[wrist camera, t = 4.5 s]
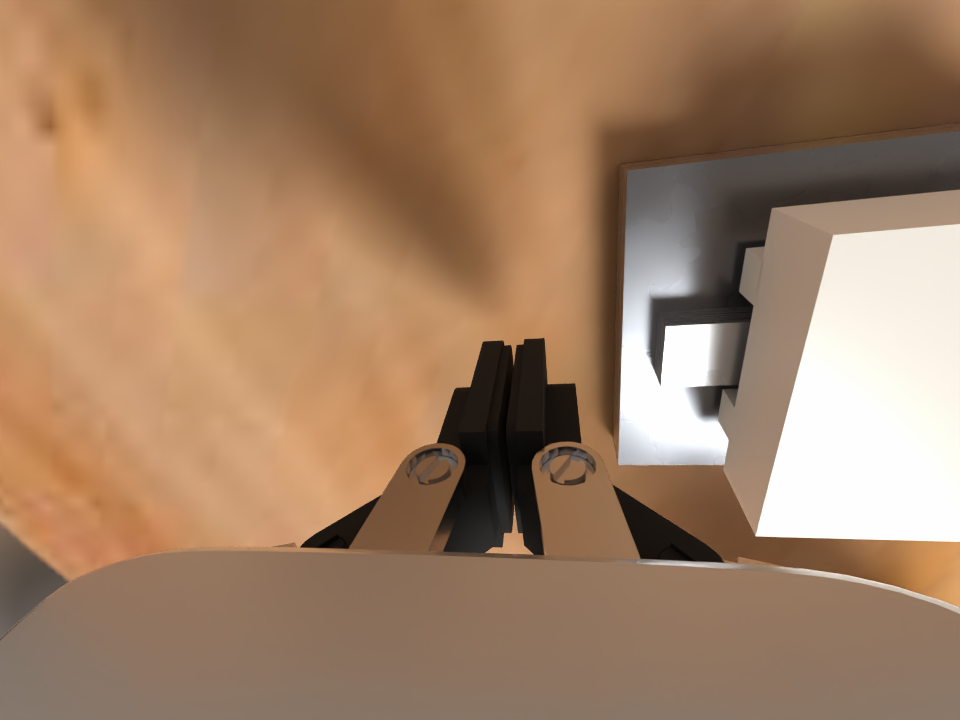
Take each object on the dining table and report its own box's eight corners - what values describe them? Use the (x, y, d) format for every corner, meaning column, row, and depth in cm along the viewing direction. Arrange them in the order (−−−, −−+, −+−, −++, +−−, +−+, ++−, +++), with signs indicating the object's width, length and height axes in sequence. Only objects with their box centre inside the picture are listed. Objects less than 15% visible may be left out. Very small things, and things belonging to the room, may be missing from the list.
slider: (1049, 170, 10) (1274, 196, 7) (921, 447, 14) (1027, 543, 11) (754, 200, 11) (833, 235, 8) (712, 448, 15) (755, 536, 12)
